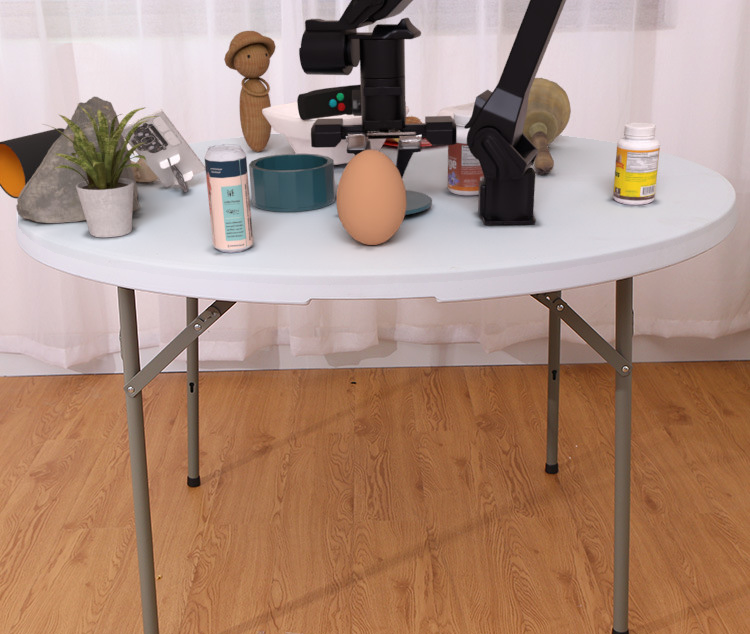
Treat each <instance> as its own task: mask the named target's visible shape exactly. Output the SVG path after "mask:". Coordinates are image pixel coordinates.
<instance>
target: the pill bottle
mask: <svg viewBox="0 0 750 634" xmlns="http://www.w3.org/2000/svg"><path fill="white" fill-rule="evenodd" d="M472 113H473V110H462V111H457V112H455V113H454V120H455V123H456V129H457V137H456V144H454V145H447V190H448V191H449V192H450V193H452V194H455V195H458V196H465V197H466V196H468V197H469V196H479V182H480V181H483V180H484V174H483V171H482V168H481V165H480V162H479V160H478V159H476V158H475V157H474V156H473V155H472V154H471V152H470V150H469V147H468V145H467V134H468V131H469V129H470V128H468V129H465V128H464V126H465V125H466V124H467V123H468V122H469V120H470V118H471V116H472Z"/></svg>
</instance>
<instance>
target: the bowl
mask: <svg viewBox="0 0 750 634" xmlns="http://www.w3.org/2000/svg"><path fill="white" fill-rule="evenodd" d="M409 112H410V107H409V106H407V105H406V116H407V115H409ZM262 113H263V115H264V116H265V118H266V119H267V121H268V122H269V123H270V125H271V129H272V130H273V131H274V132H275V133H278V134H280V135H283V136H284V138H285V140H286V141H287V143H289V145H290V147H291V148H292V150H293V151H294V152H295V154H317V155H322V156H327V157H330V158H331V159H333V160H334V166H335V165H343V164H348V163H349V161H350V160H351V159H352V158H353V157H354V156H355V154H349V153H347V145H348V142H347V143H346V140H341V142H340V143H339V144H338V145H337V146H336V147H323V148H315V147H311V128H312V126H313V123H314V122H315V121H316V120H317V119H333V118H343V125H362V116H354V115H346V114H345V115H339V116H331V117H324V118H316V119H308V120H302V119H301V118H300V116H299V111H298V104H297V101H294V102H287V103H282V104H276V105H271V107H268V108H265V109H263V110H262ZM369 132H370V131H369ZM372 132H373V131H372ZM375 132H376V131H375ZM377 132H378V131H377ZM389 132H390V131H389ZM385 140H386V139H369V141H370V144H371V150H377V151H379V152H380V151H381V148H382V147H383V145H384V144H383V143H384V142H385Z"/></svg>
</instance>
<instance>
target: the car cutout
mask: <svg viewBox="0 0 750 634" xmlns="http://www.w3.org/2000/svg"><path fill="white" fill-rule="evenodd" d="M149 116H158V117H151V118H146V119H143V118H145V117H149ZM141 119H143V120H141ZM139 120H141V121H139ZM138 121H139V122H142V121H147V122H144V123H142V124H141V125H140V126H139V127H138V128H137V129H136V130H135V131H134V133H133V135H132V136H131V138H130V140H129V142H128V144H129V146H130V147H131V148H132V147H134V146H135V145H137V144H140V143H144V144H141V145H139V146H138V147H137V148H136V150H135V151H134V152H135V153H136V154H137V156H138V155H142V156H144V157H145V158H146V160H144V159H143V161H144V162H145V163H146V164H147V165H148V166H149V168H150V169H151V170H152V171H153V172H154V173H155V175H156V176H157V177H158V180H159V181H161V183H162V185H164V187H166V188H169V187H172V186H173V185H174V186H180V188H181V189H182V191H184V193H187V192H189V187H188V181H190V180H192V179H193V178H194V176H195V175H198V174H200V173H202V172H205V171H206V169H205V164H204V163H203V162H202V161H201V159H200V158H199V156H198V155H197V154H196V152H195V151H194V150H193V148H192V147H191V146H190V144H189V143H188V142H187V141H186V139H185V138H184V137H183V136H182V134H181V133H180V131H179V130H178V128H177V127H175V125H174V124H173V123H172V121H171V119H169V117H168V116H167V114H166V113H165V112H164V110H163V109H162V108H160V109H158V110H157V111H154V112H152V113H150V114H147V115H145V116H143V117H140V118H139V119H137V120H134V121H132V122H130V123H127V124H126V126H125V127H124V129H123V132H122V134H121V135H122V136H123V137H124V139H125V137H126V136H128V135H127V134H129V133H128V132H129V131H131V128H132V127H134V126H135V125H136V124H135V123H137V122H138ZM139 122H138V123H139ZM134 124H135V125H134ZM125 140H126V139H125ZM145 142H146V143H145ZM146 161H147V162H146Z"/></svg>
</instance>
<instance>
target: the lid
mask: <svg viewBox="0 0 750 634" xmlns="http://www.w3.org/2000/svg"><path fill="white" fill-rule="evenodd" d="M405 190H406V202H407V204H406V212H405V216H407V215H411V214H416V213H420V212H423V211H426V210H427V209H429V208H430V207H431V206H432V205H433V199H432V197H431V196H430V195H428V194H426V193H423V192H420V191H417V190H409V189H405Z"/></svg>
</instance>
